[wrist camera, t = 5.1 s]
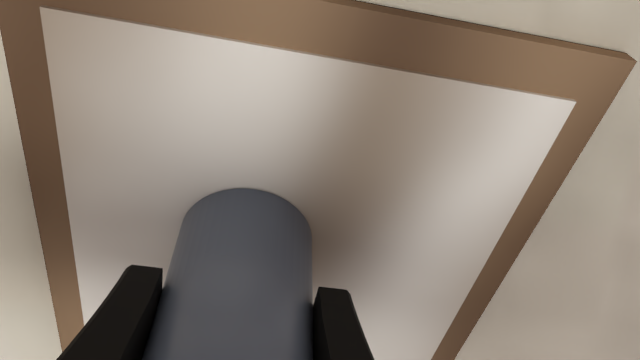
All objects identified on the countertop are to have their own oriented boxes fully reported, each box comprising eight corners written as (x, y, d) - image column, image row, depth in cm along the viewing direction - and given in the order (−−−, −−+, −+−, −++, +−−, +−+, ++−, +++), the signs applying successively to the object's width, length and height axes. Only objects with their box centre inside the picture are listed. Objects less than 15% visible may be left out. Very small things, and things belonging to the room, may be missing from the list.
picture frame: (626, 53, 10) (659, 79, 9) (399, 434, 20) (404, 467, 19) (-6, -70, 9) (-46, -54, 8) (79, 410, 18) (67, 444, 17)
